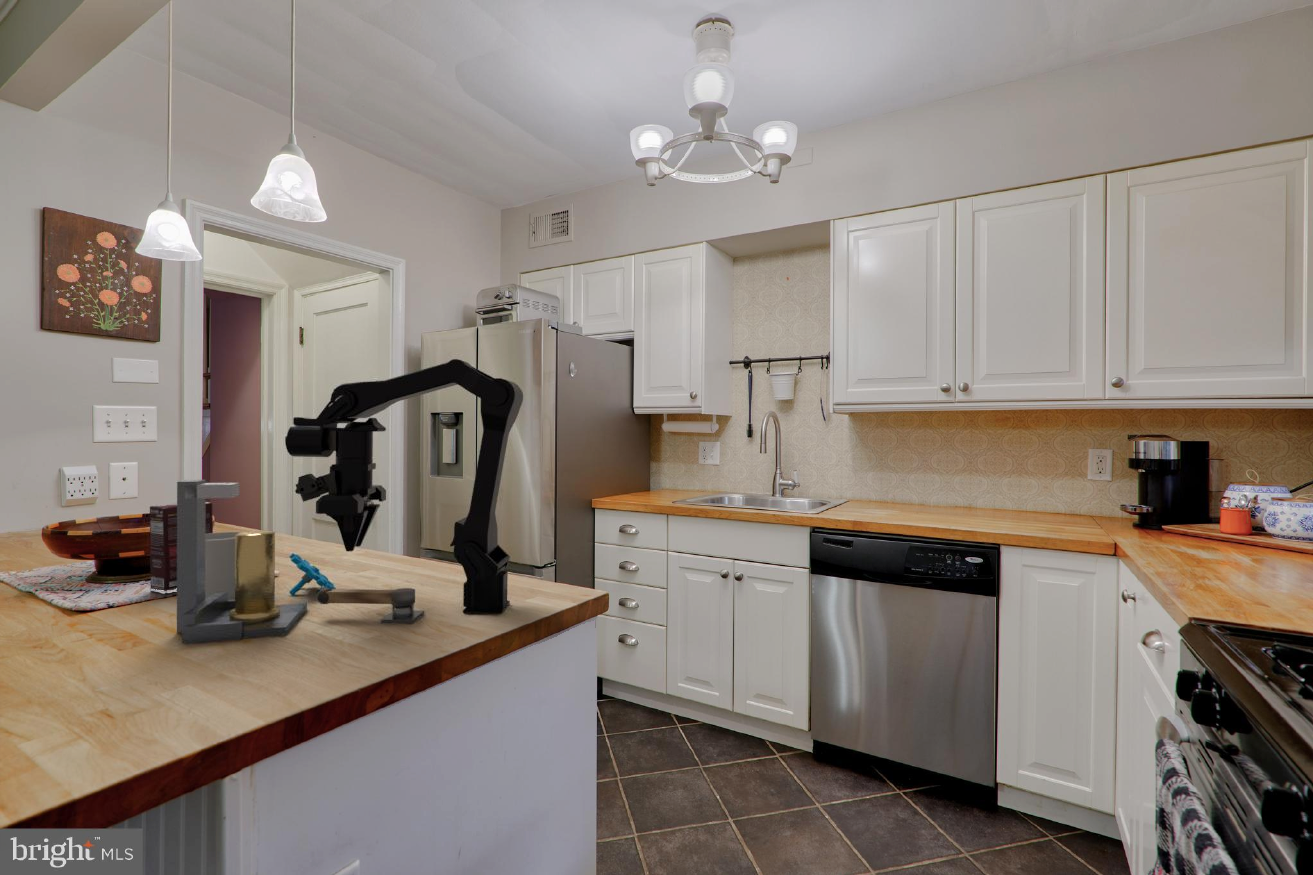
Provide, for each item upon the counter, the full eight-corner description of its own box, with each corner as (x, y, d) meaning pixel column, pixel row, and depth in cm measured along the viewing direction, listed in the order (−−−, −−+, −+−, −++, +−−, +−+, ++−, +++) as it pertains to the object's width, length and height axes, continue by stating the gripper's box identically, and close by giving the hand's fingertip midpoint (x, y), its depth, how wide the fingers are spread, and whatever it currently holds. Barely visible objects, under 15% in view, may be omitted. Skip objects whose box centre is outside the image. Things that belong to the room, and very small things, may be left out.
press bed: (307, 609, 105) (308, 476, 105) (284, 636, 92) (285, 484, 91) (200, 615, 100) (200, 476, 100) (159, 645, 87) (160, 485, 87)
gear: (336, 588, 112) (292, 551, 110) (309, 615, 110) (264, 578, 107) (340, 582, 122) (299, 548, 120) (315, 607, 120) (273, 572, 118)
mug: (191, 606, 106) (191, 541, 105) (188, 595, 112) (189, 534, 112) (273, 595, 113) (273, 534, 113) (266, 585, 120) (267, 528, 120)
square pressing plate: (424, 614, 103) (424, 601, 103) (412, 623, 98) (412, 609, 98) (394, 613, 103) (394, 600, 103) (380, 623, 98) (380, 609, 98)
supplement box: (198, 581, 122) (198, 500, 121) (214, 584, 120) (214, 502, 119) (147, 592, 114) (148, 505, 113) (163, 595, 112) (164, 507, 111)
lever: (418, 602, 102) (418, 586, 102) (409, 608, 99) (410, 592, 99) (323, 600, 102) (324, 584, 102) (311, 606, 99) (312, 590, 99)
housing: (289, 613, 99) (290, 531, 98) (251, 625, 92) (251, 538, 92) (258, 608, 101) (258, 529, 100) (218, 620, 94) (218, 535, 94)
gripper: (322, 454, 114) (322, 539, 114) (279, 460, 96) (279, 561, 96) (387, 455, 116) (386, 538, 116) (357, 461, 98) (356, 560, 98)
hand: (353, 548), depth 106 cm, fingers open, 4 cm apart
